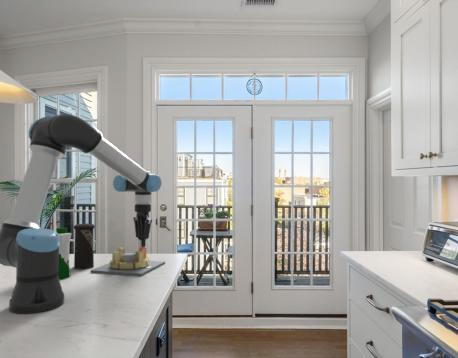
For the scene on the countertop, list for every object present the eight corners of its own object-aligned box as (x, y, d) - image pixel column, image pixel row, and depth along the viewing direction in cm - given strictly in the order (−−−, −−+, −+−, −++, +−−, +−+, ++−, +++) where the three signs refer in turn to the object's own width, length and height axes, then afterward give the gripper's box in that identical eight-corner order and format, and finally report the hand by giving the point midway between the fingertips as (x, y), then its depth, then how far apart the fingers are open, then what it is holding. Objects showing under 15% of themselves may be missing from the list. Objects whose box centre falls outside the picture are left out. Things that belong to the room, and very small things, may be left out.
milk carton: (73, 276, 144) (73, 228, 144) (53, 282, 136) (53, 230, 136) (59, 274, 148) (59, 226, 148) (38, 279, 140) (39, 229, 140)
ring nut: (124, 271, 148) (125, 254, 148) (103, 265, 158) (103, 250, 158) (156, 264, 161) (156, 249, 161) (134, 259, 171) (134, 245, 171)
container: (89, 269, 156) (90, 224, 156) (69, 269, 156) (70, 224, 156) (97, 265, 165) (97, 222, 165) (78, 265, 165) (78, 222, 165)
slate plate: (141, 276, 145) (141, 261, 145) (90, 272, 150) (90, 258, 151) (165, 263, 168) (165, 251, 168) (120, 260, 174) (120, 248, 174)
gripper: (157, 204, 164) (156, 254, 164) (142, 202, 173) (141, 249, 173) (143, 204, 159) (142, 256, 159) (128, 202, 168) (127, 251, 168)
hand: (141, 253), depth 166 cm, fingers closed
